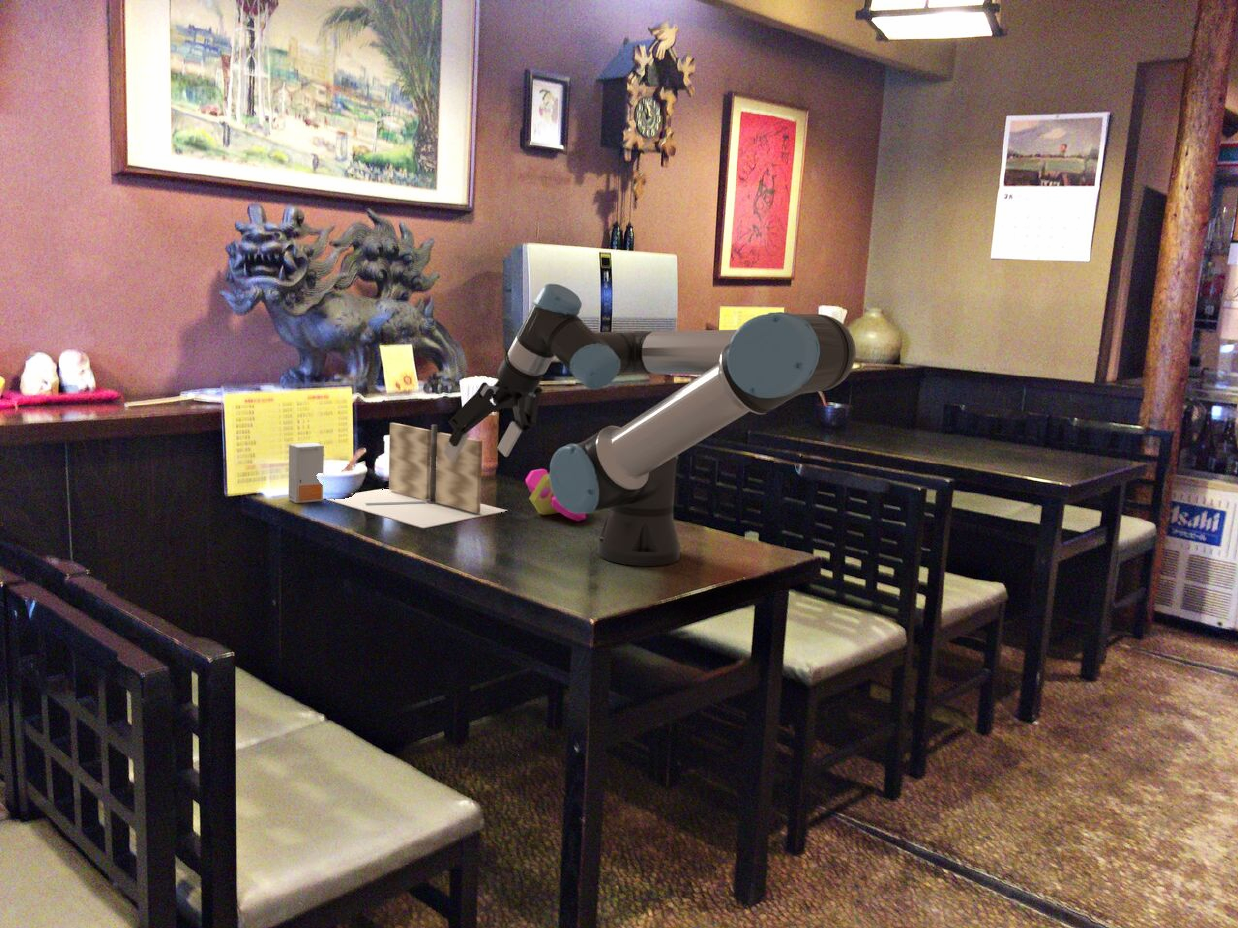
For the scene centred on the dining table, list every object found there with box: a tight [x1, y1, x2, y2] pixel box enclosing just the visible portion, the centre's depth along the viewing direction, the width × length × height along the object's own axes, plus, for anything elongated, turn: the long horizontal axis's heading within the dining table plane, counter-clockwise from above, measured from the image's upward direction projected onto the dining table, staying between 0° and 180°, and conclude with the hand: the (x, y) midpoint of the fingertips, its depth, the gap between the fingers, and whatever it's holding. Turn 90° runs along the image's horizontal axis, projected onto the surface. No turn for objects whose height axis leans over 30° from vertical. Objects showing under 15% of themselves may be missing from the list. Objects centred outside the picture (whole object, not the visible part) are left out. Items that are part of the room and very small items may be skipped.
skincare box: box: [288, 442, 325, 504], centre depth 210 cm, size 6×4×12 cm
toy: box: [525, 468, 587, 522], centre depth 210 cm, size 10×18×10 cm, turn 40°
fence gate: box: [388, 422, 432, 500], centre depth 218 cm, size 12×1×15 cm, turn 52°
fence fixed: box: [427, 424, 483, 513], centre depth 209 cm, size 15×3×17 cm, turn 52°
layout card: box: [325, 488, 508, 529], centre depth 212 cm, size 32×23×1 cm
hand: (476, 455), depth 188 cm, fingers open, 13 cm apart
